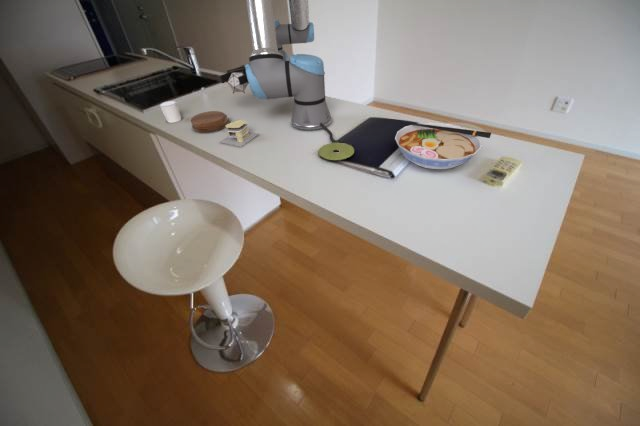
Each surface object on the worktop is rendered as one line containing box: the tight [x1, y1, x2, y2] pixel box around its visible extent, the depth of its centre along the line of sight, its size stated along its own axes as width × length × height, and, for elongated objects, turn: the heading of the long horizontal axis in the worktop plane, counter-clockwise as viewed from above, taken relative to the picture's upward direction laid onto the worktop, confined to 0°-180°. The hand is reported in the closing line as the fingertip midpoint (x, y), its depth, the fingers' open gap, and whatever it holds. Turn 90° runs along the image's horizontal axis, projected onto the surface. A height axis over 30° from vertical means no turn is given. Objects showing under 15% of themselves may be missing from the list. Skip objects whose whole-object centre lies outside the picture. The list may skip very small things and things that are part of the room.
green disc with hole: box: [317, 142, 355, 161], centre depth 90 cm, size 11×11×2 cm
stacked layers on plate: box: [220, 119, 258, 148], centre depth 103 cm, size 10×9×6 cm
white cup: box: [159, 100, 182, 124], centre depth 120 cm, size 7×7×7 cm
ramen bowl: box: [394, 121, 492, 170], centre depth 82 cm, size 25×23×8 cm
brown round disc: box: [190, 110, 230, 134], centre depth 114 cm, size 14×14×4 cm
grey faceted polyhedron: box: [225, 71, 249, 94], centre depth 116 cm, size 9×8×10 cm
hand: (230, 80), depth 111 cm, fingers closed on grey faceted polyhedron, 8 cm apart
